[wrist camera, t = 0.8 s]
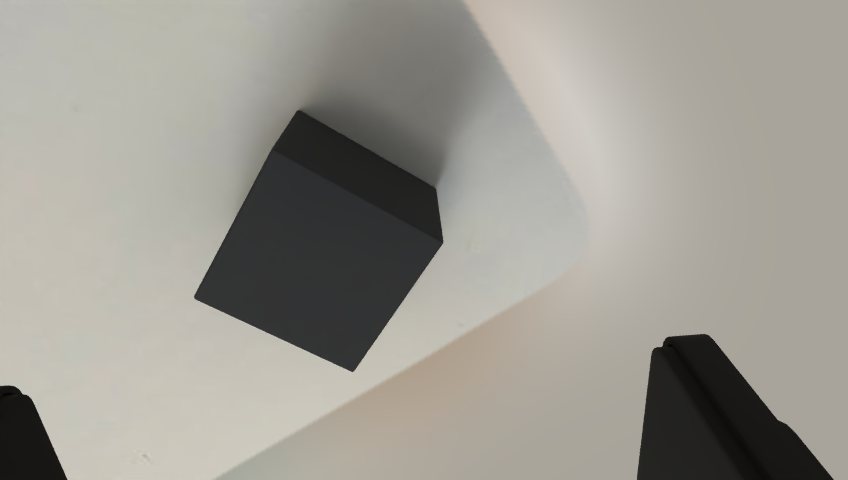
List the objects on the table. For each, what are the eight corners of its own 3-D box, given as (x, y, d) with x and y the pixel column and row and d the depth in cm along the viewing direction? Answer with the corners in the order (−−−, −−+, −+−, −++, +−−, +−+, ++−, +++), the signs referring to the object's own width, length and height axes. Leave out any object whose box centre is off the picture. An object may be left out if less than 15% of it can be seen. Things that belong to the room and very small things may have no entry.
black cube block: (298, 108, 23) (272, 147, 18) (437, 188, 24) (444, 242, 20) (230, 236, 25) (192, 298, 21) (361, 301, 27) (353, 373, 22)
